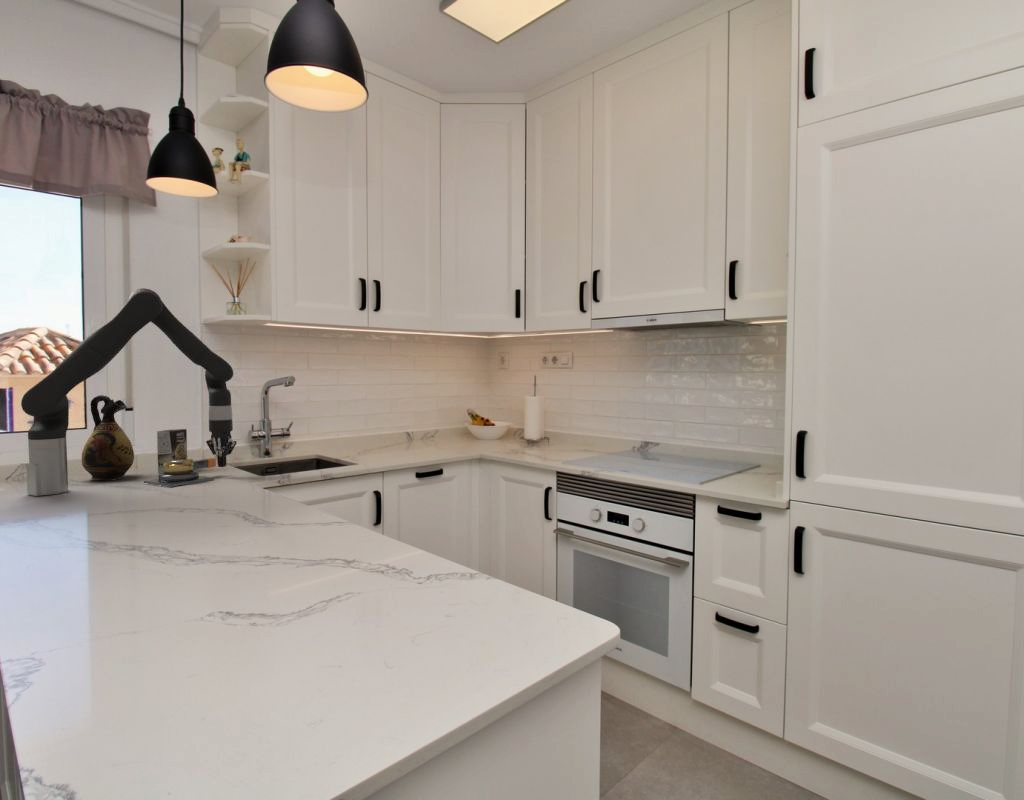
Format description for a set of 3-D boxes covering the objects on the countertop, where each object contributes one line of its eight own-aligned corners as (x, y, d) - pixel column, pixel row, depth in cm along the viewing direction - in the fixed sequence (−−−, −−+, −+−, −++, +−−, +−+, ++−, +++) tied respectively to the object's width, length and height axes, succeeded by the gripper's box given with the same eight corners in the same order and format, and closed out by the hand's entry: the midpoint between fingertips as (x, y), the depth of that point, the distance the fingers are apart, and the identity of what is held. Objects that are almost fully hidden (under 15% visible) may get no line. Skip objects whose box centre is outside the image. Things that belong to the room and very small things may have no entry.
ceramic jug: (145, 475, 208) (142, 394, 207) (111, 483, 193) (108, 395, 192) (103, 474, 210) (100, 394, 209) (66, 482, 195) (63, 396, 194)
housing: (169, 487, 184) (169, 465, 184) (143, 483, 191) (142, 462, 191) (213, 480, 197) (212, 459, 197) (187, 476, 204) (186, 456, 204)
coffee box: (174, 473, 212) (172, 430, 211) (157, 473, 212) (155, 431, 211) (188, 469, 221) (187, 428, 220) (172, 469, 221) (171, 428, 220)
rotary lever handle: (174, 475, 188) (173, 463, 188) (156, 473, 192) (156, 461, 192) (221, 467, 204) (221, 456, 203) (205, 466, 208) (204, 455, 208)
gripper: (242, 418, 201) (244, 466, 202) (216, 417, 206) (218, 464, 207) (224, 419, 194) (226, 469, 195) (198, 418, 200) (199, 467, 200)
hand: (222, 466), depth 201 cm, fingers closed
